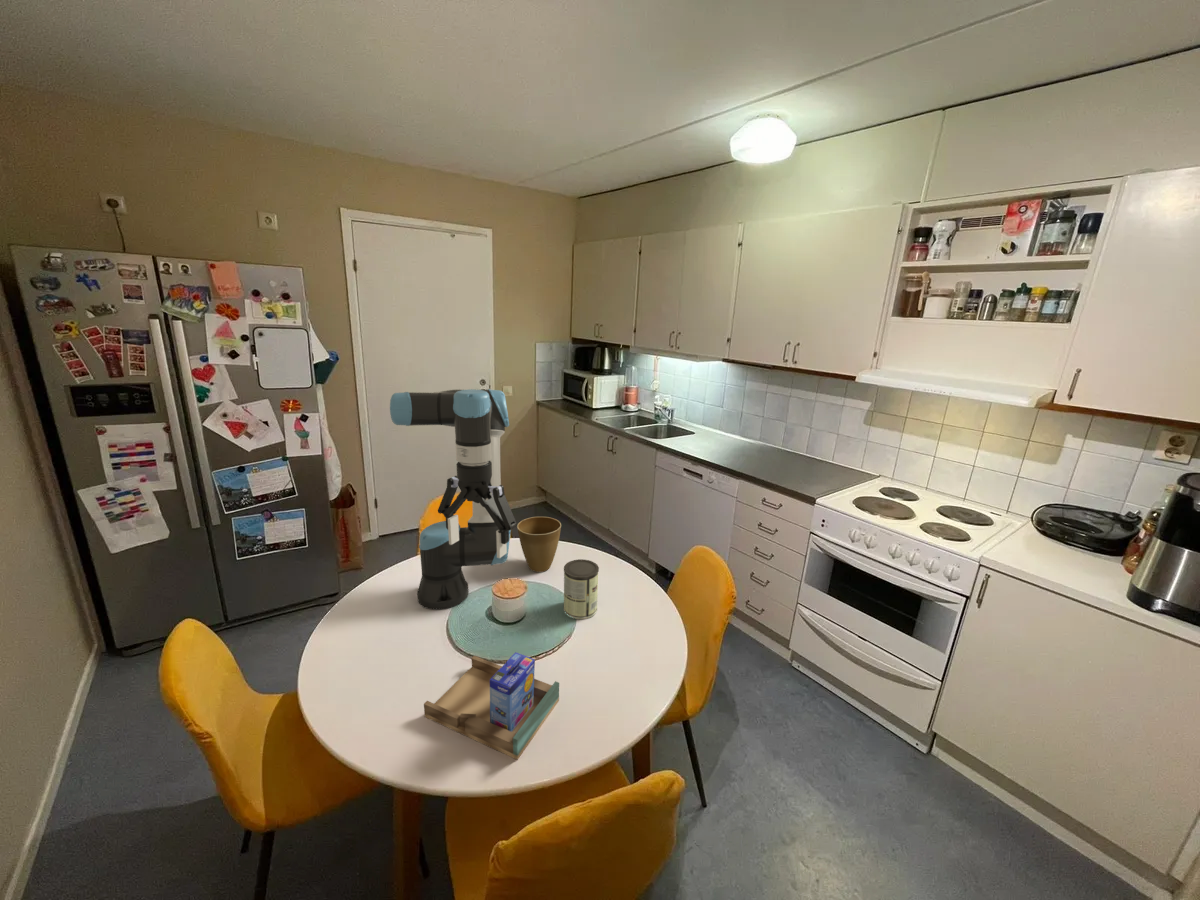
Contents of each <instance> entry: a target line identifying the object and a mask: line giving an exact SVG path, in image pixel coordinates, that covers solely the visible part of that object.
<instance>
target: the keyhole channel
mask: <svg viewBox="0 0 1200 900" xmlns="http://www.w3.org/2000/svg"><path fill="white" fill-rule="evenodd" d="M502 666H503V665H499V664H498V663H494V662H491V661H488V660H486V659H485V658H481V657H479V656H475V655H473V656H472V657H471V667H470V668H469V669H468V670H467V671H466V672H465V673H464V674H463V675H462V676H461V677H460V678H459V679H458V680H457V681H456V682H455V683H454V684H453V685H451V686H450V687H449V689H447V691H446V692H445V693H443V694H442V695H441V696H440V698H438V699H437V701H435V702H434V703H433V702H431V701H429V700H426V701H425V702H423V711H424V718H427V719H429V720H430V721H433V722H435V723H437V724H439V725H441V726H444V727H445V728H448V729H450V730H452V731H455V732H456V733H459V734H461V735H462V736H465V737H467V738H469V739H471V740H474V741H476V742H478V743H480V744H483V745H484V746H487V747H489V748H490V749H493V750H495V751H497V752H499V753H502V754H504V755H506V756H508V757H509V758H513V759H515V760H517V761H518V760H519V758H520V757H521V756H522V754H523V753H524V751H525V750H526V748H527V747H528V746H529V744H530V743H531V741H532V740H533V738H535V736H536V734H537V733H538V732H539V730H540V728H541V727H542V726H543V724H544V723H545V722H546V720H547V718H548V717H549V716H550V715H551V713H552V711H553V710H554V708H555V707H556V706H557V705H558V703H559V701H560V682H558V681H556V680H555V681H554V682H553V683H552V684H549V683H547V682H545V681H541V680H539V679H536V678H534V698H533V706H532V707H531V708H530V710H529V711H528V712H527V713H526V715H525V716H524V717H523V718H522V720H521V721H520V722H519V723H518V725H517V726H516V727H515V728H514V730H513V731H512V732H510V731H508V730H506V729H504V728H501V727H499V726H497V725H495V724H492V723H490V679H491V678H492V676H493V675H494V674H495V673H496V672H497V671H498V670H499V669H500V668H502Z"/></svg>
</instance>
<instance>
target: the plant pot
mask: <svg viewBox="0 0 1200 900" xmlns="http://www.w3.org/2000/svg"><path fill="white" fill-rule="evenodd" d="M516 527H517V534H518V538H519V542H520V543H519V544H520V548H521V550H522V553H523V554H522V555H524V558H525V562H526V564H527V565H528V568H529V570H530V571H532V572H536V573H537V572H538V573H543V572H546V571H549V570H550V569H551V566H552V565H553V561H554V560H555V559H554V558H555V556H556V553H557V549H558V546H559V545H558V544H559V542H560V541H559V540H560V537H561V536H560V535H561V530H562V529H561V528H562V523H561V521H560V520H558V519H556V518H553V517H551V516H550V517H549V516H532V517H528V518H525V519H522V520H521V521H520V522H518V523H517V526H516Z"/></svg>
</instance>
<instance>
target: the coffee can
mask: <svg viewBox="0 0 1200 900" xmlns="http://www.w3.org/2000/svg"><path fill="white" fill-rule="evenodd" d="M599 570H600V567H599V565H598V564H597V563H596V562H595V561H592V560H589V559H584V558H583V559H581V558H580V559H574V560H570V561H568V562H566V564H564V566H563V612H564V611H565V612H566V614H568V615H569V616H571V617H573V618H572V619H574V618H575V619H574V620H587V619H590V618H592V617H593V616H595V615H596V614H597V612H598V595H599V594H598V589H599ZM565 612H564V613H565ZM566 614H565V615H566ZM569 616H568V617H569ZM571 617H570V618H571Z"/></svg>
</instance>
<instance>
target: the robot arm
mask: <svg viewBox="0 0 1200 900" xmlns="http://www.w3.org/2000/svg"><path fill="white" fill-rule="evenodd" d="M389 413H390V415H389V416H390V419H391V421H392V422H393V424H394V425H396V426H405V427H410V426H413V427H415V426H446V427H454V433H455V440H454V441H455V443H454V444H455V458H456V461H457V463H456V475H454V476H452V477H449V478H448V479H447V480H446V489H445V491H444V494H443V496H442V498H441V501H440V503H439V506H438V508H437V513H438V514H439V515H440V514H442V515H443V516H444V518H445V520H443V521H438V522H434V523H432V524H430V525H427V526H426V527H425V528H424V529H422V531H421V532H420V534H419V546H418V548H419V554H420V556H419V557H420V567H421V578H420V581H419V582H420V583H419V585H418V588H417V593H416V595H417V596H416V597H417V603H418V604H419V605H420V606H422V607H423V608H425V609H427V610H428V609H429V610H446V609H451V608H453V607H455V606H457V605H460V604H462V603H463V602H464V601H466V599H467V598H468V596H469V593H470V591H469V590H470V589H469V584H468V582H467V580H466V578H465V574H464V572H463V569H462V567H472V566H473V567H474V566H475V567H476V566H495V565H502V564H505V563H506V561H507V560H508V556H509V547H510V539H511V531H512V530H513V529H514V528H515V527H517V525H518V523H517V520H516V518H515V516H514V514H513V512H512V508H511V507H510V504H509V502H508V499H507V498H506V495H505V487H504V485H502V480H501V478H502V476H501V475H502V474H501V437H502V436H504V434H505V433H506V428H508V427H509V426H510V421H509V412H508V407H507V399H506V394H505V393H504V392H503V391H502V390H501V389H500V390H499V389H490V388H488V389H473V388H471V389H470V388H469V389H448V390H442V391H434V392H417V391H416V392H413V391H412V392H409V391H405V392H395V393H393V394H392V395H391V397H390V402H389ZM457 489H459V490H460V492H459V493H458V495H456V493H457ZM455 495H456V498H455V499H454V497H455ZM453 499H454V500H453ZM466 501H468V502H472V516H470V518H469V519H468V521H467V527H464V526H463V527H461V525H460V523H459V515H458V514H457V513H458V512H457V511H458V510H459V509H460V508H461V507H462V505H463V504H464V503H465V502H466ZM461 602H462V603H461Z"/></svg>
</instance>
